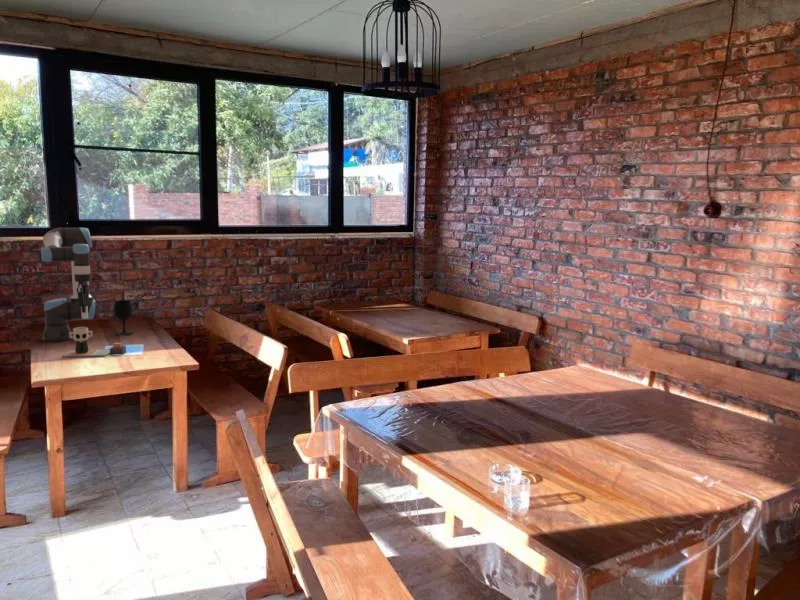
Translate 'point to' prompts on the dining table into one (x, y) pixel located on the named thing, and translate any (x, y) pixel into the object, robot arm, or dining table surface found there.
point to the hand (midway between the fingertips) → (84, 318)
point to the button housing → (117, 350)
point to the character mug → (81, 338)
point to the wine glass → (123, 314)
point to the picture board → (88, 353)
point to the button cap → (117, 345)
